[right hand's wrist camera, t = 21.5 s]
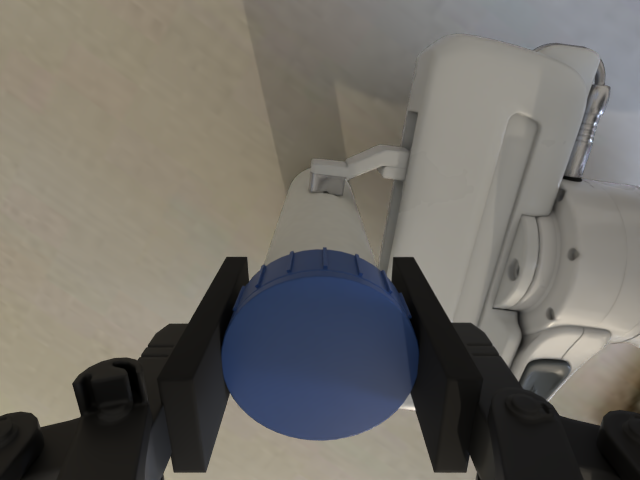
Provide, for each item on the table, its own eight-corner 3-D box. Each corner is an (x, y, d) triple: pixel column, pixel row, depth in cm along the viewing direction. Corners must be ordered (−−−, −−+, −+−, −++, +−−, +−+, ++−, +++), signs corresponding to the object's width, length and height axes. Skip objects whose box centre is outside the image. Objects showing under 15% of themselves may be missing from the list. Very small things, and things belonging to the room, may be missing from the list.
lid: (381, 409, 13) (389, 456, 12) (220, 380, 13) (205, 424, 11) (431, 268, 12) (451, 299, 10) (246, 228, 11) (233, 254, 9)
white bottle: (321, 152, 26) (323, 244, 10) (366, 200, 28) (432, 352, 11) (273, 197, 27) (207, 347, 11) (319, 242, 29) (317, 435, 12)
